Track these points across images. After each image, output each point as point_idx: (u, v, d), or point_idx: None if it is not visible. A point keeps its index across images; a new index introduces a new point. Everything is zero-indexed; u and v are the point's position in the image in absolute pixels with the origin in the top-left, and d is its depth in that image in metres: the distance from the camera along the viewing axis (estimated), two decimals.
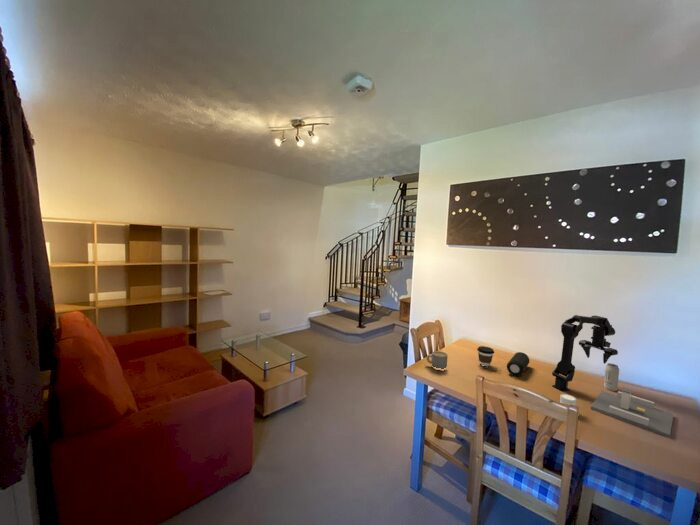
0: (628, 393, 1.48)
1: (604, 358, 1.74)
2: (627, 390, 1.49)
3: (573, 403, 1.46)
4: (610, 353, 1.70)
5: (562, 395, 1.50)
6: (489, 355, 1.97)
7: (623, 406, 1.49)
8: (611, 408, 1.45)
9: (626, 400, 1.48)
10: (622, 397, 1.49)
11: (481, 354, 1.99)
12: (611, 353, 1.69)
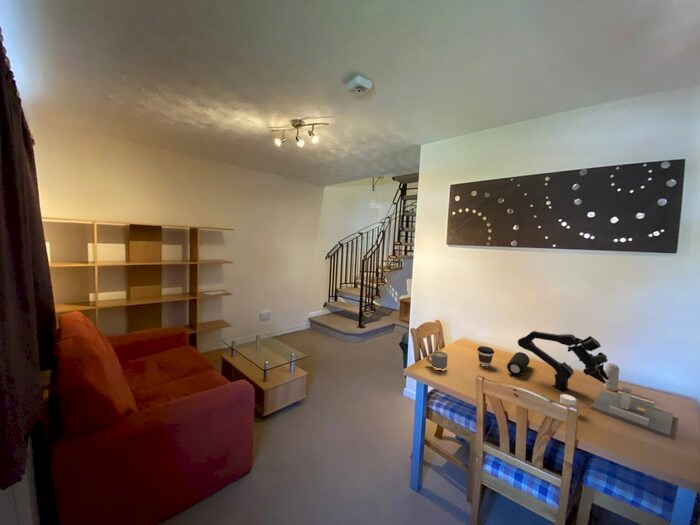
0: (628, 393, 1.48)
1: None
2: (627, 390, 1.49)
3: (573, 403, 1.46)
4: None
5: (562, 395, 1.50)
6: (489, 355, 1.97)
7: (623, 406, 1.49)
8: (611, 408, 1.45)
9: (626, 400, 1.48)
10: (622, 397, 1.49)
11: (481, 354, 1.99)
12: (585, 373, 1.56)
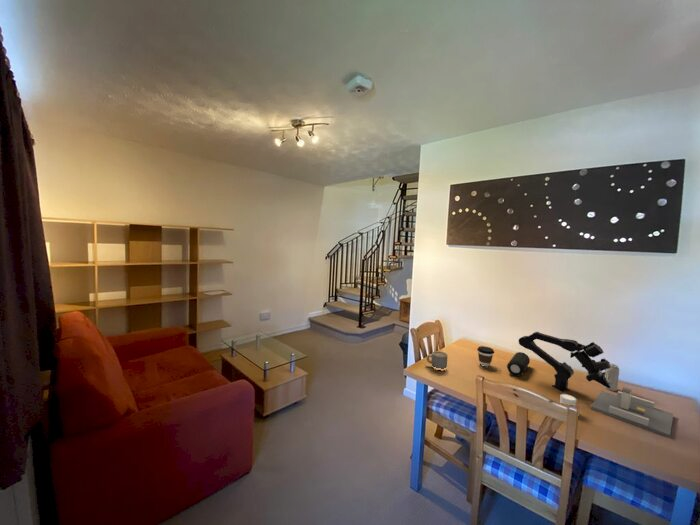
0: (628, 393, 1.48)
1: None
2: (627, 390, 1.49)
3: (573, 403, 1.46)
4: (587, 379, 1.55)
5: (562, 395, 1.50)
6: (489, 355, 1.97)
7: (623, 406, 1.49)
8: (611, 408, 1.45)
9: (626, 400, 1.48)
10: (622, 397, 1.49)
11: (481, 354, 1.99)
12: (588, 379, 1.55)
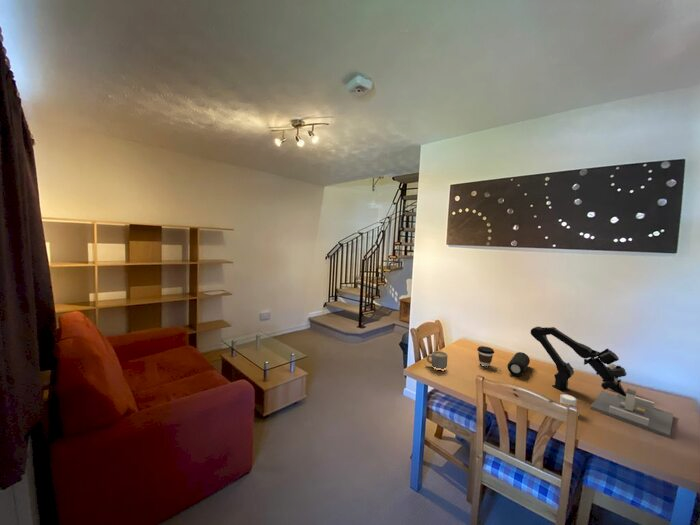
0: (632, 394, 1.46)
1: None
2: (631, 391, 1.48)
3: (573, 403, 1.46)
4: (603, 387, 1.51)
5: (562, 395, 1.50)
6: (489, 355, 1.97)
7: (627, 407, 1.48)
8: (611, 408, 1.45)
9: (631, 402, 1.47)
10: (626, 398, 1.48)
11: (481, 354, 1.99)
12: (603, 387, 1.50)
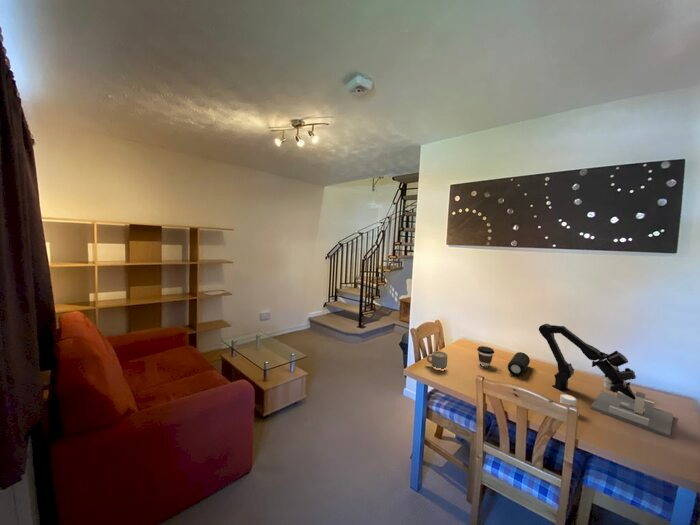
0: (642, 397, 1.44)
1: None
2: (641, 394, 1.45)
3: (573, 403, 1.46)
4: (612, 390, 1.48)
5: (562, 395, 1.50)
6: (489, 355, 1.97)
7: (637, 411, 1.45)
8: (611, 408, 1.45)
9: (640, 405, 1.44)
10: (636, 401, 1.45)
11: (481, 354, 1.99)
12: (612, 390, 1.47)
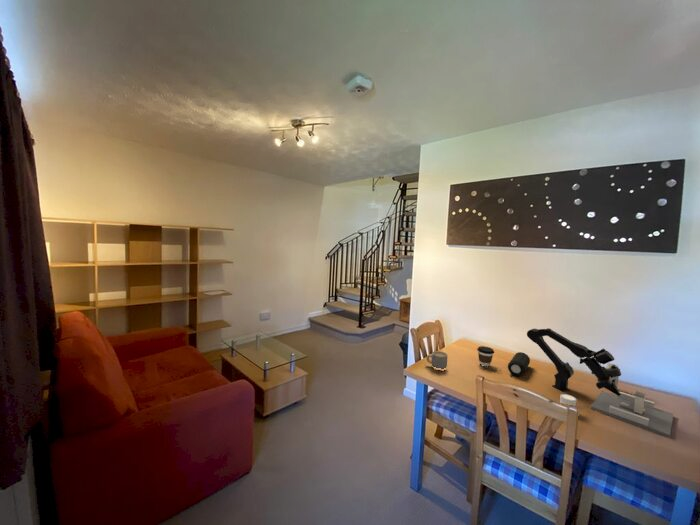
0: (642, 397, 1.44)
1: None
2: (641, 394, 1.45)
3: (573, 403, 1.46)
4: None
5: (562, 395, 1.50)
6: (489, 355, 1.97)
7: (637, 411, 1.45)
8: (611, 408, 1.45)
9: (640, 405, 1.44)
10: (635, 401, 1.46)
11: (481, 354, 1.99)
12: None
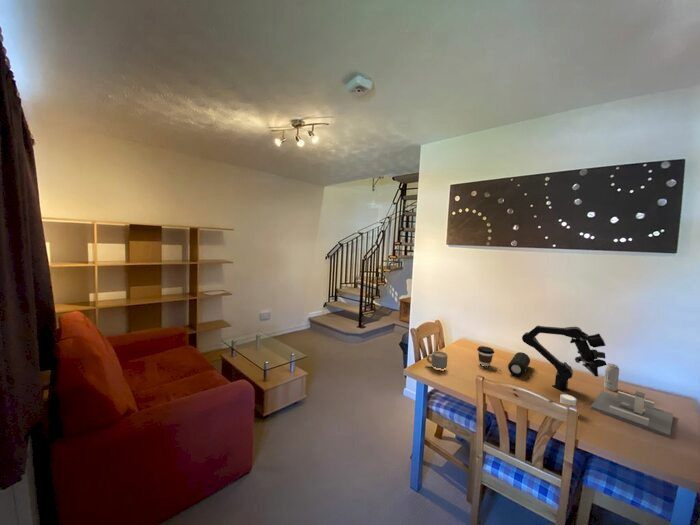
0: (642, 397, 1.44)
1: (591, 371, 1.61)
2: (641, 394, 1.45)
3: (573, 403, 1.46)
4: (594, 366, 1.55)
5: (562, 395, 1.50)
6: (489, 355, 1.97)
7: (637, 411, 1.45)
8: (611, 408, 1.45)
9: (640, 405, 1.44)
10: (635, 401, 1.46)
11: (481, 354, 1.99)
12: (595, 365, 1.55)
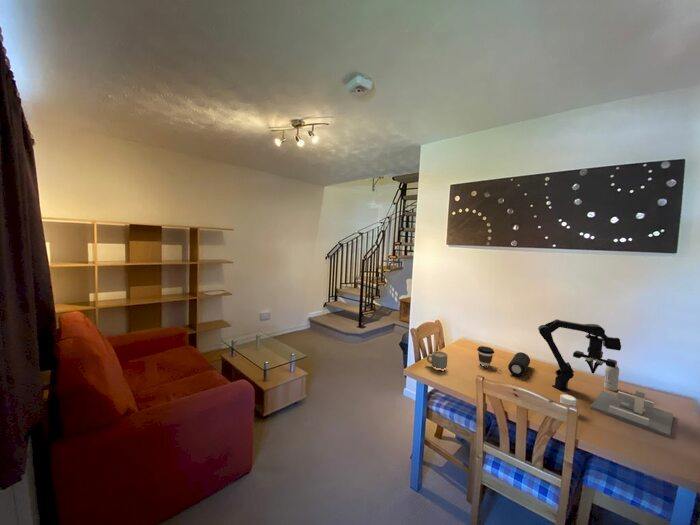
0: (642, 397, 1.44)
1: (595, 368, 1.63)
2: (641, 394, 1.45)
3: (573, 403, 1.46)
4: (613, 365, 1.56)
5: (562, 395, 1.50)
6: (489, 355, 1.97)
7: (637, 411, 1.45)
8: (611, 408, 1.45)
9: (640, 405, 1.44)
10: (635, 401, 1.46)
11: (481, 354, 1.99)
12: (614, 365, 1.55)
